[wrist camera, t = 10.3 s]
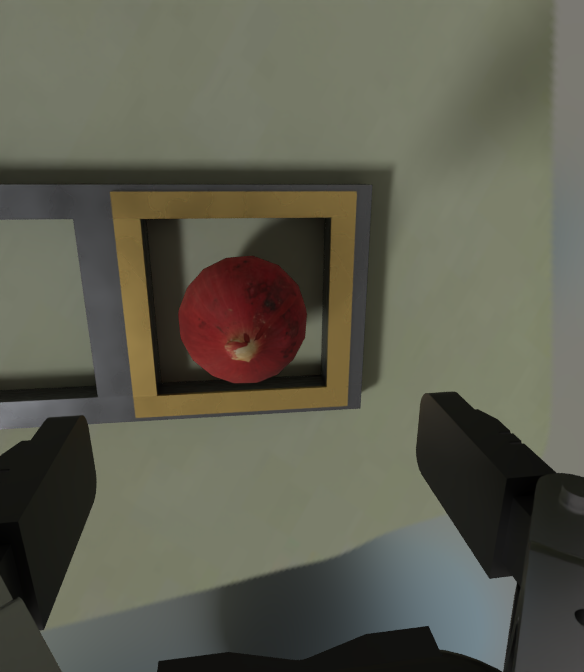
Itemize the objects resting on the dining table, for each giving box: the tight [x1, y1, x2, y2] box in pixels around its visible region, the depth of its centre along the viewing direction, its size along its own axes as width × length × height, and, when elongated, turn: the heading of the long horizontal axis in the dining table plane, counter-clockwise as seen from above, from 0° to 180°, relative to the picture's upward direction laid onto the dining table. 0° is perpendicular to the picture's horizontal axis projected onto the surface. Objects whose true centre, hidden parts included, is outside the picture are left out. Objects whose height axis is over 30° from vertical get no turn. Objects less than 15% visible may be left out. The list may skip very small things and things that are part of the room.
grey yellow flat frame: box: [0, 184, 372, 429], centre depth 24 cm, size 12×25×2 cm, turn 90°
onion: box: [178, 256, 307, 383], centre depth 22 cm, size 6×6×8 cm
